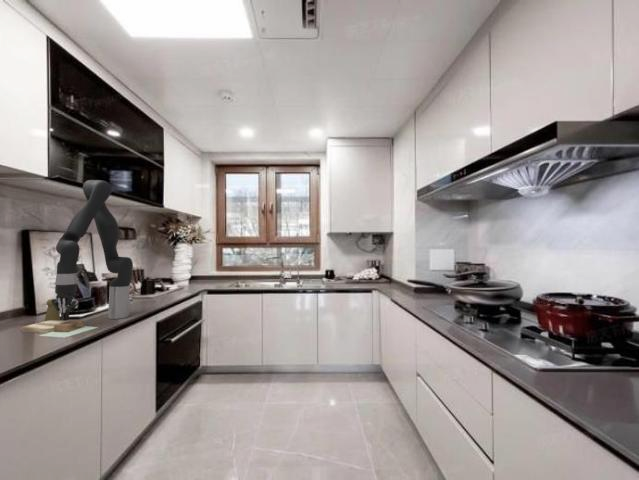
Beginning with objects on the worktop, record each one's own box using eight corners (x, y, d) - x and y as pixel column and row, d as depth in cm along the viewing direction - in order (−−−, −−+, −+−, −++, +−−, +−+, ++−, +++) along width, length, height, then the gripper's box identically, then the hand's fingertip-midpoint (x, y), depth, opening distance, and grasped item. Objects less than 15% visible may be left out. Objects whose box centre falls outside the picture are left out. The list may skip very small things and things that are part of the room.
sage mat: (74, 326, 140) (74, 325, 140) (97, 327, 139) (97, 327, 139) (38, 336, 124) (38, 335, 124) (64, 338, 123) (64, 337, 123)
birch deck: (50, 324, 143) (50, 320, 143) (75, 325, 141) (75, 321, 141) (20, 331, 130) (20, 327, 130) (47, 333, 128) (47, 329, 128)
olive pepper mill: (63, 319, 152) (64, 298, 153) (51, 322, 146) (52, 300, 147) (53, 318, 153) (54, 297, 153) (41, 321, 147) (42, 299, 147)
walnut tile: (71, 326, 138) (71, 320, 138) (83, 326, 138) (84, 320, 138) (53, 332, 129) (54, 325, 129) (67, 332, 129) (67, 325, 129)
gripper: (86, 282, 138) (84, 319, 138) (62, 281, 140) (60, 317, 140) (70, 284, 131) (69, 323, 130) (45, 283, 132) (43, 321, 132)
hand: (64, 320), depth 135 cm, fingers closed
